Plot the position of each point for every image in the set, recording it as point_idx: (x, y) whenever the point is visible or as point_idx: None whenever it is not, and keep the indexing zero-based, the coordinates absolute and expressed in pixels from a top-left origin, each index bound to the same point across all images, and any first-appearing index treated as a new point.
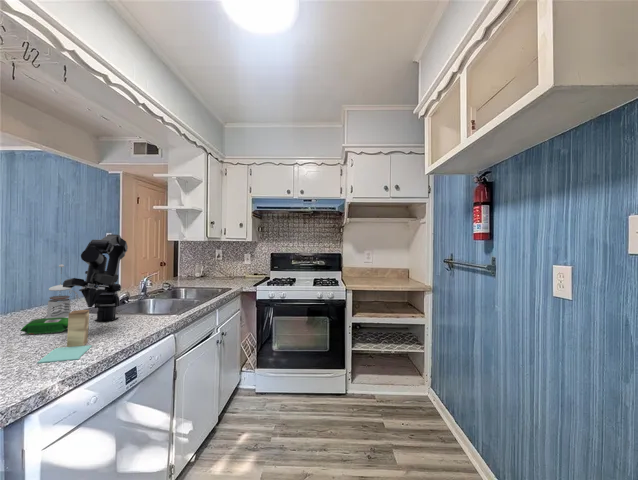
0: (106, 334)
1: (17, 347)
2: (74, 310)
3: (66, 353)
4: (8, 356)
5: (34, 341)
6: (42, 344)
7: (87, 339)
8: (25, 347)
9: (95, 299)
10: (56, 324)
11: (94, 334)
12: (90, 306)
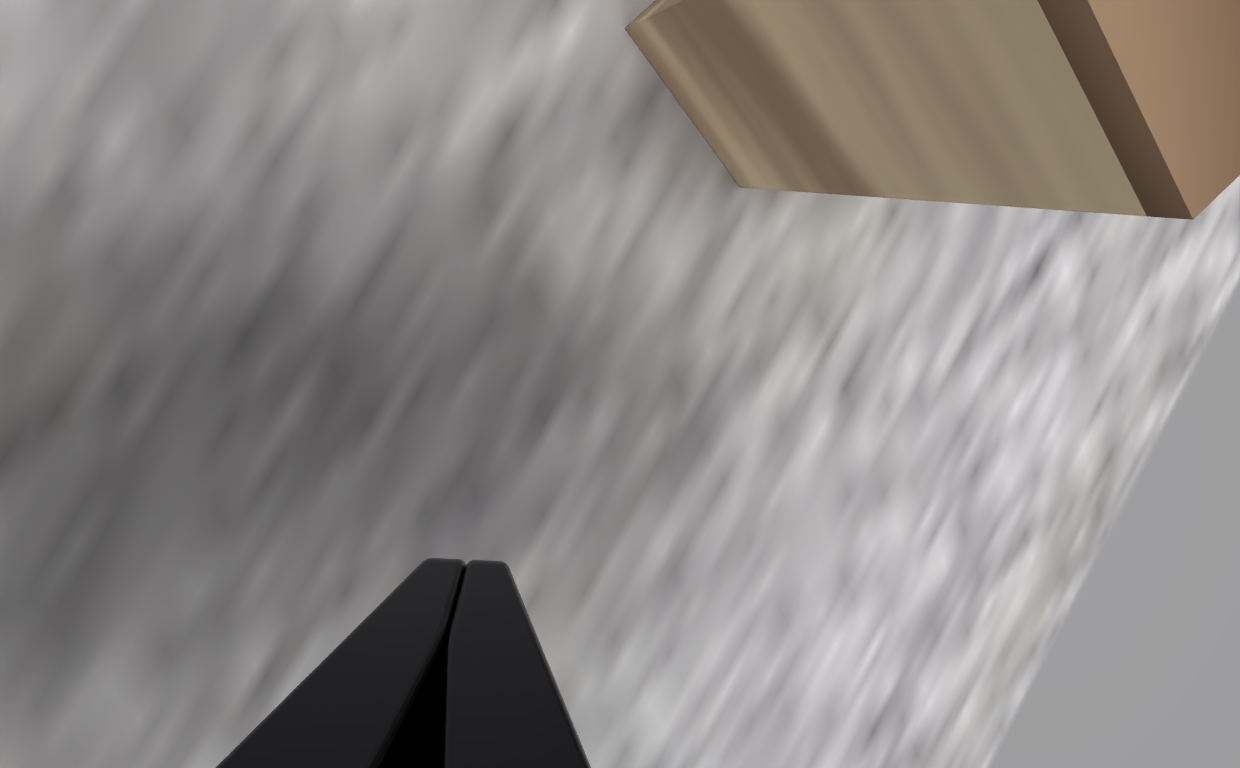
0: (208, 146)
1: (1014, 572)
2: (1195, 199)
3: None
4: (1186, 346)
5: (848, 657)
6: (883, 470)
7: (646, 15)
8: (994, 508)
9: (296, 761)
10: None
11: (326, 334)
12: (495, 569)
